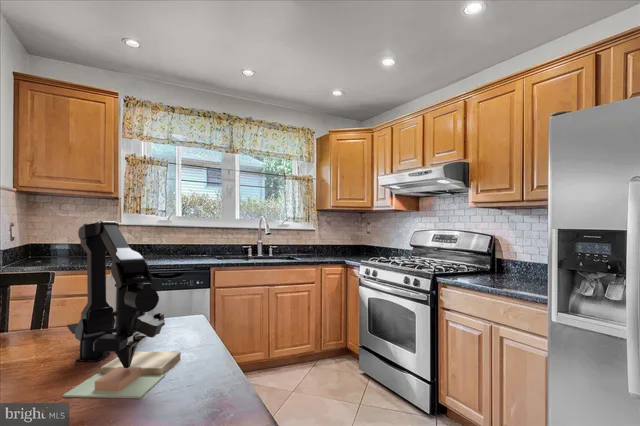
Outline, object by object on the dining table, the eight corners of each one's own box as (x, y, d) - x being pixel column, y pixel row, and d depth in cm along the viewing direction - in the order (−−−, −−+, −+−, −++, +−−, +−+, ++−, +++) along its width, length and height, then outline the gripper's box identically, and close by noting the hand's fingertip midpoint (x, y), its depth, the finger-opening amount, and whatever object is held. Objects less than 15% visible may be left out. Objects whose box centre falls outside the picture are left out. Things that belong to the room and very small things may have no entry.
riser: (100, 375, 93) (100, 367, 93) (126, 358, 105) (126, 351, 105) (161, 376, 93) (161, 368, 93) (180, 359, 105) (180, 352, 105)
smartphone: (65, 326, 139) (73, 335, 128) (65, 324, 139) (73, 332, 128) (87, 323, 144) (97, 331, 133) (87, 321, 144) (97, 328, 133)
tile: (94, 390, 84) (94, 381, 84) (118, 374, 93) (118, 366, 93) (118, 390, 83) (119, 382, 83) (140, 375, 92) (140, 367, 92)
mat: (62, 396, 81) (62, 395, 81) (96, 375, 93) (96, 373, 93) (140, 398, 81) (140, 396, 81) (164, 376, 92) (164, 375, 92)
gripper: (140, 315, 82) (138, 384, 81) (175, 299, 101) (174, 355, 100) (92, 314, 82) (90, 383, 82) (136, 298, 101) (134, 354, 100)
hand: (126, 367), depth 91 cm, fingers closed
